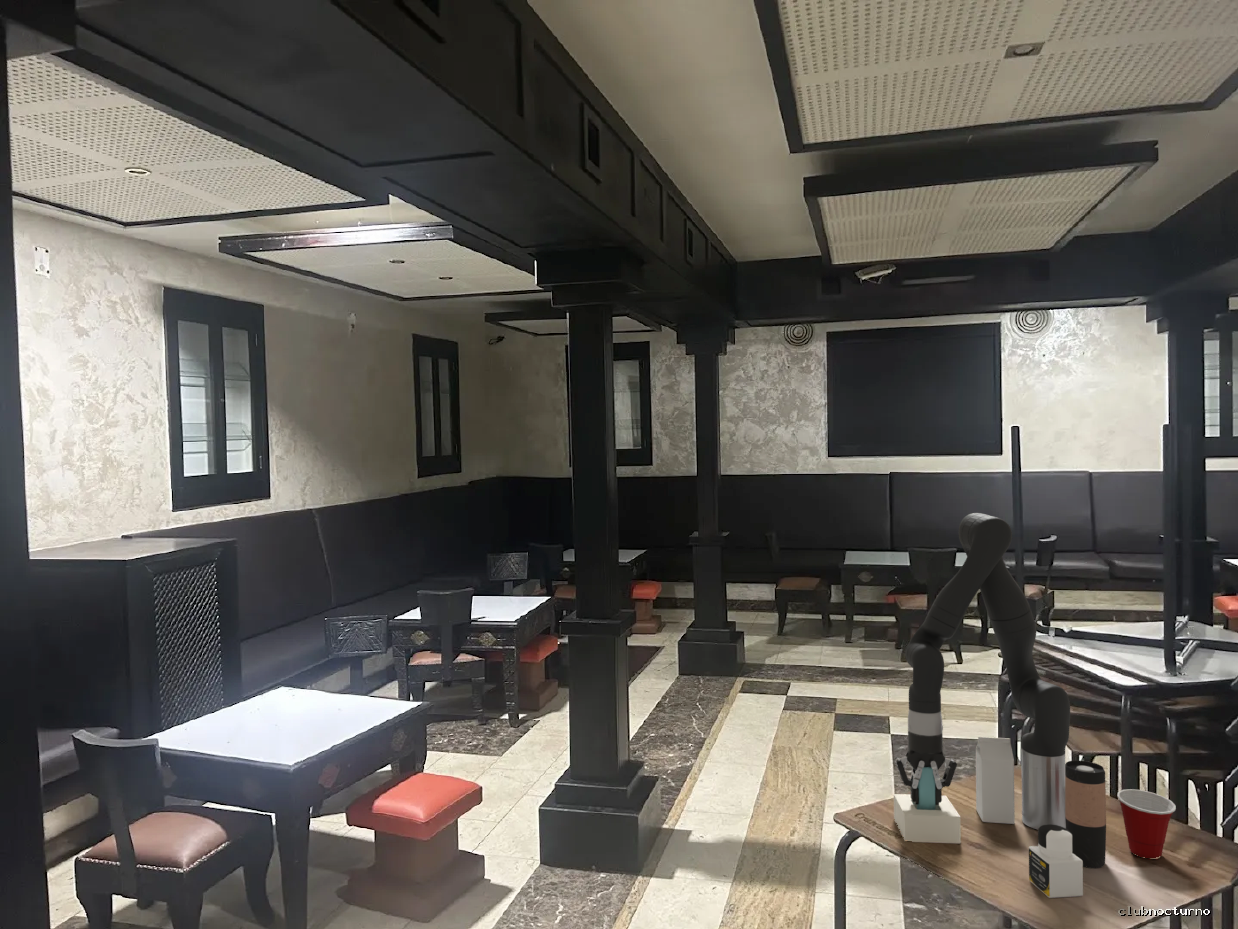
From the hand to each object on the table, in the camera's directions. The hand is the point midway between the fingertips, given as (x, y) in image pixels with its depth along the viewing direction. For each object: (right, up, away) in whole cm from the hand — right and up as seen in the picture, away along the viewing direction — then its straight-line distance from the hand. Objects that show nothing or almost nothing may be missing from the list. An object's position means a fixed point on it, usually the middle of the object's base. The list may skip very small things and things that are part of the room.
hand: (925, 803), depth 198 cm
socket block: (0, -6, 0) cm, 6 cm away
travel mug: (+29, -6, -15) cm, 33 cm away
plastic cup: (+43, -6, -13) cm, 45 cm away
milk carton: (+19, -6, +7) cm, 21 cm away
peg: (0, -3, 0) cm, 3 cm away
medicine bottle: (+16, -7, -27) cm, 32 cm away
